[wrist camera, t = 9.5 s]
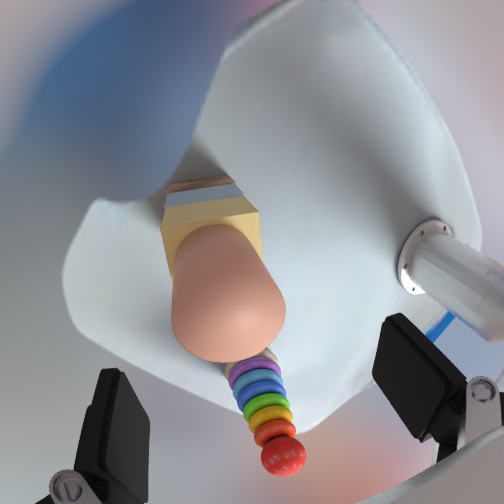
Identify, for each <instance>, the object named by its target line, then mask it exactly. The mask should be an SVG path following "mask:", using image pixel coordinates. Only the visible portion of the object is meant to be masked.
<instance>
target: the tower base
mask: <svg viewBox="0 0 504 504" xmlns="http://www.w3.org/2000/svg"><path fill="white" fill-rule="evenodd" d="M227 184H235V181H234V180H233V179H232V178H231V177H230V176H229V175H224V176H217V177H210V178H203V179H197V180H190V181H184V182H178V183H173V184H169V185H168V187H167V189H166V192H165V195H166V198H167V195H168V194H169V193H175V192H181V191H187V190H193V189H200V188H206V187H213V186H220V185H227ZM235 185H236V184H235Z"/></svg>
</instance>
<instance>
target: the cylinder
mask: <svg viewBox="0 0 504 504" xmlns="http://www.w3.org/2000/svg"><path fill="white" fill-rule="evenodd" d="M285 311H286V308H285V302H284V298H283V296H282V294H281V292H280V290H279V288H278V287H277V285H276V283H275V282H274V280H273V278H272V277H271V275H270V273H269V272H268V270H267V268H266V267H265V265H264V264H263V262H262V260H261V259H260V257H259V255H258V254H257V252H256V250H255V249H254V247H253V245H252V244H251V242H250V241H249V239H248V238H247V237H246V236H245V235H244V234H243V233H242V232H240V231H239V230H237V229H235V228H233V227H230V226H227V225H221V224H212V225H206V226H203V227H200V228H198V229H196V230H194V231H192V232H191V233H190V234H188V235H187V236H186V237H185V238H184V239H183V241H182V242H181V243H180V245H179V247H178V249H177V251H176V255H175V261H174V275H173V293H172V316H171V319H172V328H173V331H174V334H175V336H176V338H177V340H178V341H179V343H180V344H181V345H182V346H183V347H184V348H185V349H186V350H187V351H188V352H190V353H191V354H193V355H195V356H197V357H199V358H201V359H204V360H208V361H212V362H222V363H225V362H235V361H240V360H244V359H247V358H250V357H252V356H254V355H256V354H258V353H259V352H261V351H263V350H264V349H265V348H267V347H268V346H269V345H270V344H271V343H272V342H273V341H274V340H275V338H276V337H277V335H278V334H279V332H280V330H281V328H282V326H283V323H284V320H285Z"/></svg>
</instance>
